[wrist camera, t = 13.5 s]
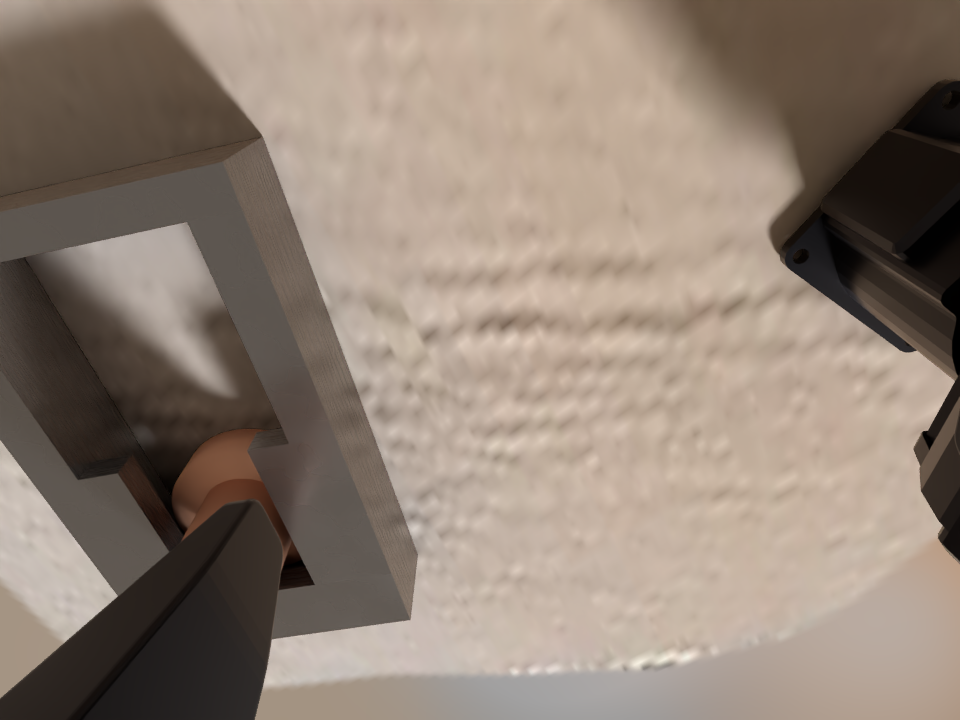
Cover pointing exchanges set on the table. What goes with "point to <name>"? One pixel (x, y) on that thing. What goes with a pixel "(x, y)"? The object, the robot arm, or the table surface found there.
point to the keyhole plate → (274, 354)
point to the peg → (225, 485)
